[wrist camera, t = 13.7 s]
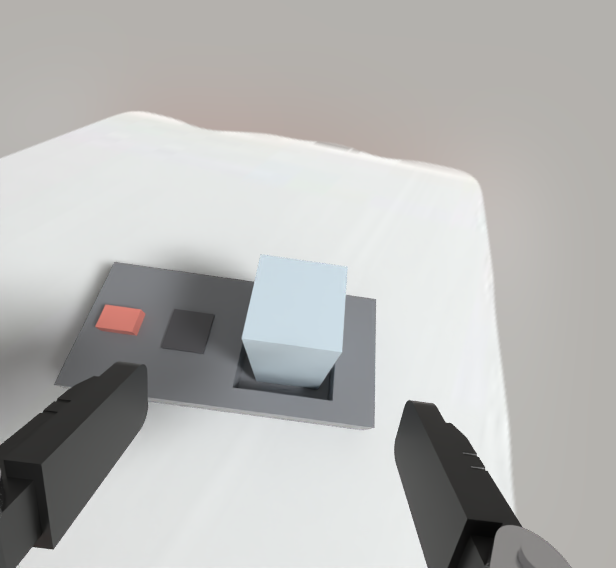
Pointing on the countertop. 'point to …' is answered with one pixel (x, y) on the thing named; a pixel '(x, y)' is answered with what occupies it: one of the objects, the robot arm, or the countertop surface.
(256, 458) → the countertop surface
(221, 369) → the power strip
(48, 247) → the countertop surface
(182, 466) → the countertop surface
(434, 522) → the robot arm
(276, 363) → the block
